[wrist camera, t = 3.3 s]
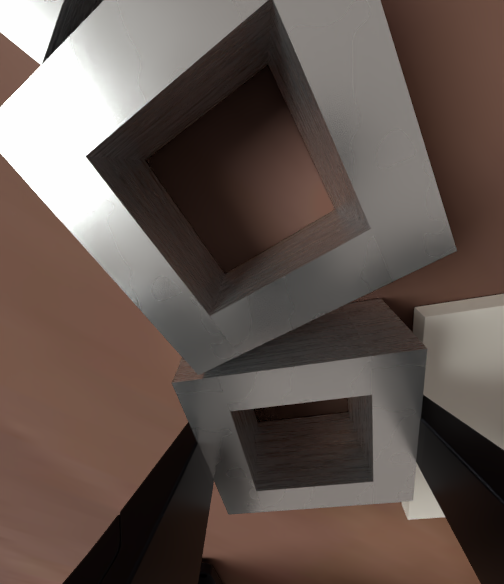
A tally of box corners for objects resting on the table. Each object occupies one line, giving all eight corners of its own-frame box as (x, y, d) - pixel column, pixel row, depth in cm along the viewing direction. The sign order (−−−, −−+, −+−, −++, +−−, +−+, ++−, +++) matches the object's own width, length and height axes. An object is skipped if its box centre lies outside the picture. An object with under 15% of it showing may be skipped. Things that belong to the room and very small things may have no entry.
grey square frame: (395, 225, 7) (456, 251, 5) (214, 321, 9) (198, 374, 6) (290, -46, 5) (313, -217, 3) (77, 143, 7) (-21, 129, 4)
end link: (380, 429, 11) (413, 500, 8) (235, 444, 11) (228, 514, 9) (381, 298, 8) (427, 348, 6) (194, 327, 9) (171, 382, 6)
